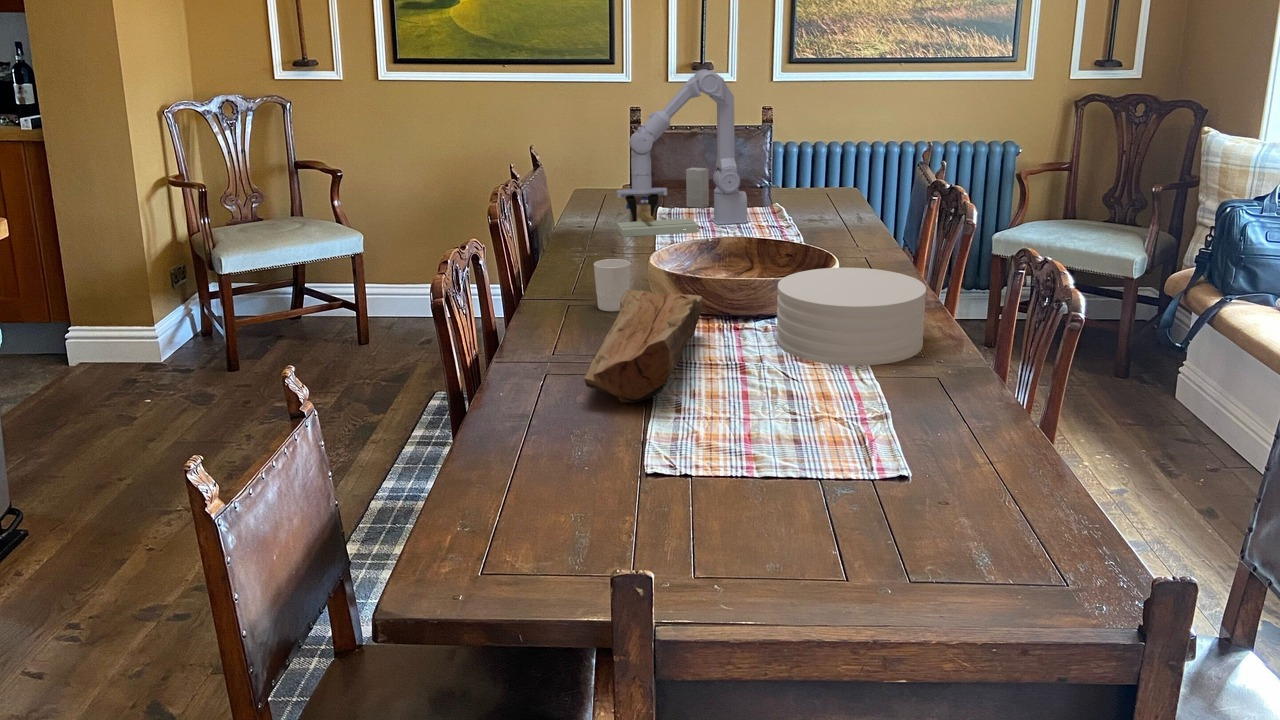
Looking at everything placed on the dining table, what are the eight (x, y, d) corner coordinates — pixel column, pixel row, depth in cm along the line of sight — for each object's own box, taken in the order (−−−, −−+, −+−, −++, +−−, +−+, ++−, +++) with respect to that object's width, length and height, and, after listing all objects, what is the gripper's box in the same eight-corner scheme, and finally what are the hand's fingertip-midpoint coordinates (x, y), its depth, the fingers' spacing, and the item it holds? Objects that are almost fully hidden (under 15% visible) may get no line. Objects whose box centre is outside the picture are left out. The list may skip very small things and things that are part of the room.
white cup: (618, 314, 231) (617, 269, 228) (588, 309, 235) (586, 265, 232) (638, 305, 237) (636, 261, 234) (608, 300, 241) (606, 257, 238)
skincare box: (709, 206, 341) (709, 168, 337) (702, 208, 338) (702, 170, 334) (692, 204, 344) (692, 167, 340) (685, 207, 341) (685, 169, 337)
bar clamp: (627, 196, 349) (657, 195, 349) (627, 203, 350) (658, 203, 349) (624, 220, 319) (657, 220, 318) (624, 228, 320) (657, 228, 319)
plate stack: (837, 313, 229) (839, 260, 225) (951, 342, 209) (956, 285, 205) (747, 342, 212) (747, 286, 208) (861, 377, 192) (864, 315, 188)
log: (665, 412, 176) (674, 321, 173) (562, 398, 179) (569, 309, 176) (704, 367, 217) (711, 293, 214) (620, 356, 220) (626, 284, 217)
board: (691, 225, 315) (691, 218, 314) (698, 232, 306) (698, 224, 305) (616, 229, 312) (616, 222, 311) (622, 236, 302) (622, 229, 302)
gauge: (647, 224, 317) (647, 202, 315) (657, 233, 306) (657, 210, 304) (634, 225, 316) (633, 203, 314) (644, 234, 305) (643, 211, 303)
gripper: (663, 170, 315) (664, 216, 319) (614, 173, 313) (615, 219, 317) (668, 174, 308) (668, 221, 313) (618, 177, 306) (619, 224, 311)
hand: (642, 220), depth 315 cm, fingers closed on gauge, 4 cm apart
